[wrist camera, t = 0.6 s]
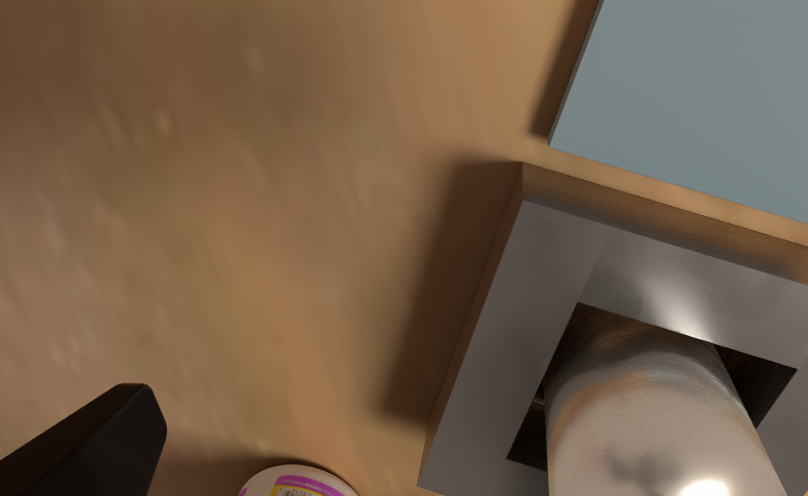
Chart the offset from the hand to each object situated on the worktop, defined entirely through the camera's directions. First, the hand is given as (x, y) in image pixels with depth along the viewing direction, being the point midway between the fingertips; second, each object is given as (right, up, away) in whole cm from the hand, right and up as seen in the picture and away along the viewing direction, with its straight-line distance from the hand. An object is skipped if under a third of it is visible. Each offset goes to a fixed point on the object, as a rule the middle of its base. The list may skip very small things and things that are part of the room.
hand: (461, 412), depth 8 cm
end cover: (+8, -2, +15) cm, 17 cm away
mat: (+9, +8, +10) cm, 16 cm away
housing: (+7, -2, +15) cm, 17 cm away
